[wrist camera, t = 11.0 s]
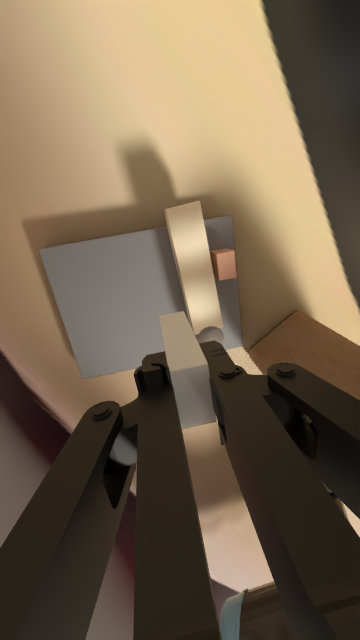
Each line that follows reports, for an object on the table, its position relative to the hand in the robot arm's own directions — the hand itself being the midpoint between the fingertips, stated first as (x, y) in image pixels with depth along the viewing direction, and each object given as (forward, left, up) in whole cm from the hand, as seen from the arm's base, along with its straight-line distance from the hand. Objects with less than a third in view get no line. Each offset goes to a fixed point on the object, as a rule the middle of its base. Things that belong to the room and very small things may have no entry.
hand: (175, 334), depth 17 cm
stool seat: (-3, +1, -21) cm, 21 cm away
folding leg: (-1, -4, -17) cm, 18 cm away
